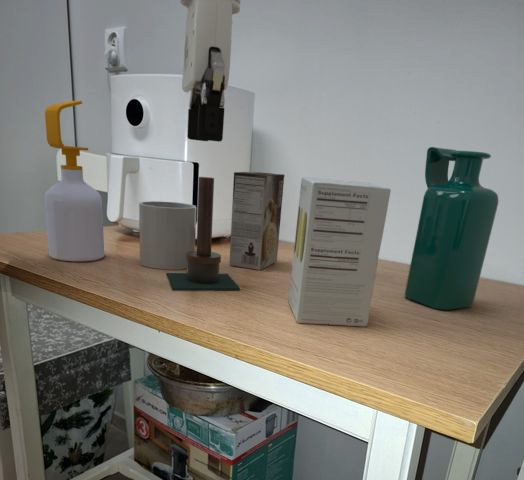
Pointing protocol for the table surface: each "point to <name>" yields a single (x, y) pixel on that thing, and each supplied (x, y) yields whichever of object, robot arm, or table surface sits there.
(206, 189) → the brush
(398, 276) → the table surface
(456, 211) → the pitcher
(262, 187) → the coffee box
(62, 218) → the soap bottle
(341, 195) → the supplement box
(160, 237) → the tumbler
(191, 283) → the mat
